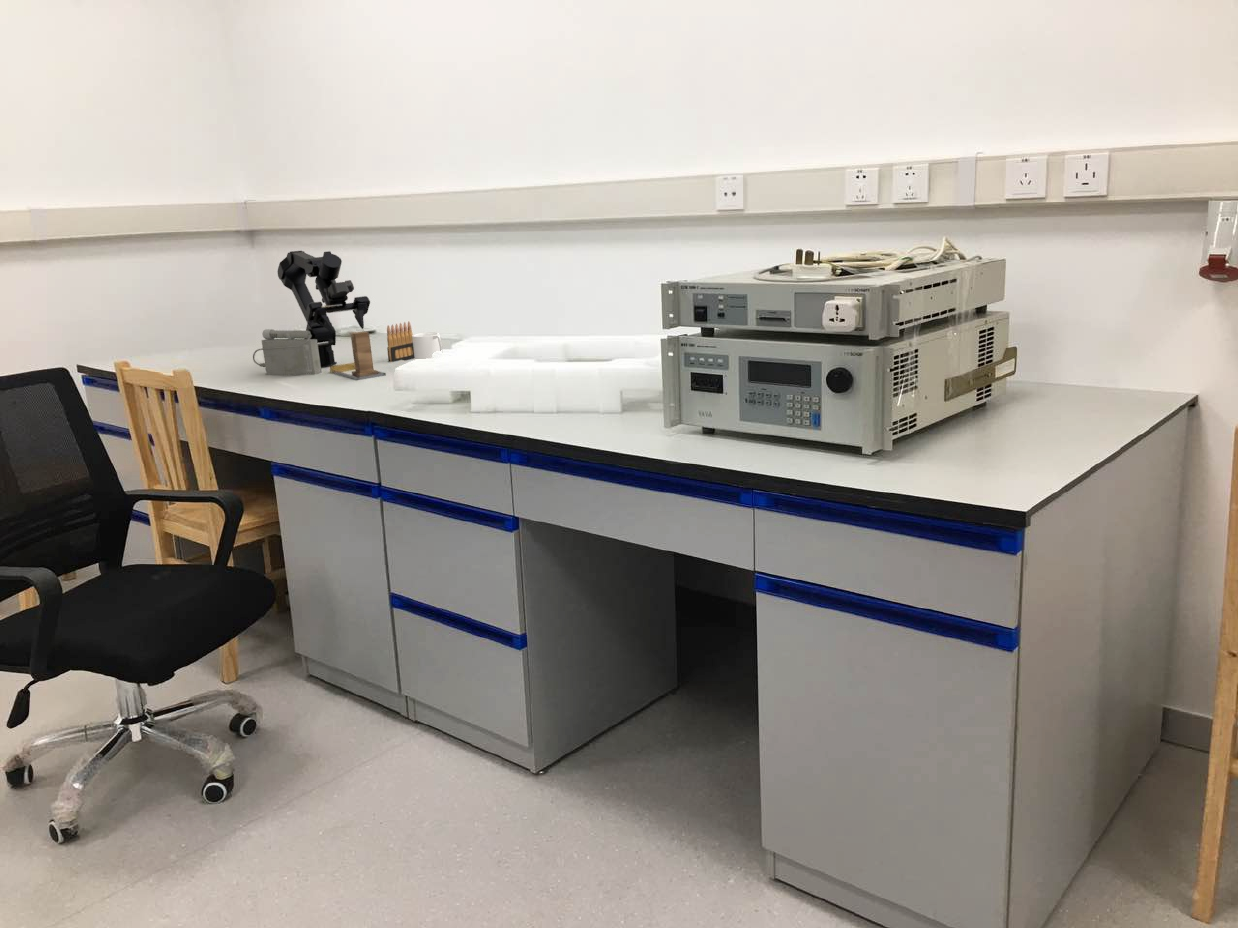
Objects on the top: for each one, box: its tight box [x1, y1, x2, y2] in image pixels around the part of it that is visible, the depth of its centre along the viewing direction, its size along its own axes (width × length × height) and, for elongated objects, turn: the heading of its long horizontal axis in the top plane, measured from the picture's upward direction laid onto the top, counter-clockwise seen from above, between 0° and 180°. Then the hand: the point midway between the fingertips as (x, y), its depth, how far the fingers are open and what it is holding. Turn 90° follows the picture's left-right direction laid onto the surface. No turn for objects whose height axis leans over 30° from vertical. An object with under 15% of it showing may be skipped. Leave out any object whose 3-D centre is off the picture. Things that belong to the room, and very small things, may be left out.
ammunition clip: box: [386, 321, 415, 363], centre depth 322 cm, size 11×2×12 cm, turn 145°
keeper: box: [350, 330, 379, 377], centre depth 294 cm, size 6×6×13 cm
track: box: [329, 362, 387, 381], centre depth 300 cm, size 21×9×2 cm, turn 36°
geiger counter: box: [252, 328, 323, 377], centre depth 309 cm, size 14×6×25 cm
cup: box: [412, 332, 443, 360], centre depth 305 cm, size 8×12×10 cm
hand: (348, 329), depth 299 cm, fingers open, 9 cm apart
